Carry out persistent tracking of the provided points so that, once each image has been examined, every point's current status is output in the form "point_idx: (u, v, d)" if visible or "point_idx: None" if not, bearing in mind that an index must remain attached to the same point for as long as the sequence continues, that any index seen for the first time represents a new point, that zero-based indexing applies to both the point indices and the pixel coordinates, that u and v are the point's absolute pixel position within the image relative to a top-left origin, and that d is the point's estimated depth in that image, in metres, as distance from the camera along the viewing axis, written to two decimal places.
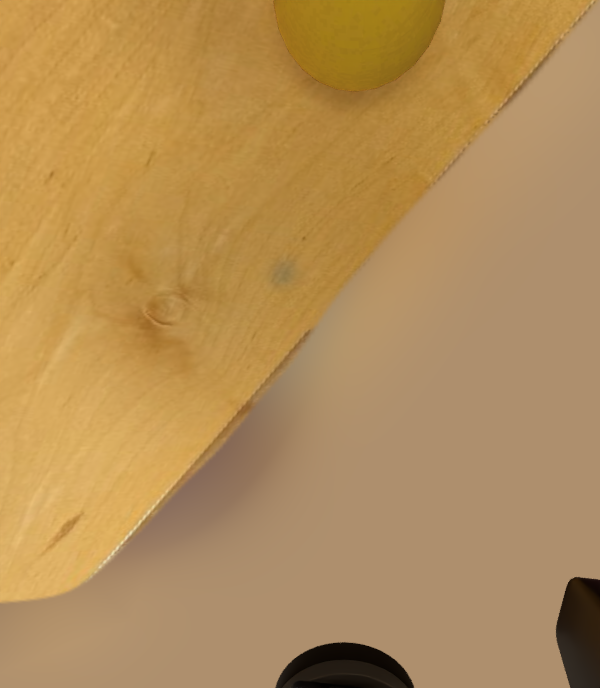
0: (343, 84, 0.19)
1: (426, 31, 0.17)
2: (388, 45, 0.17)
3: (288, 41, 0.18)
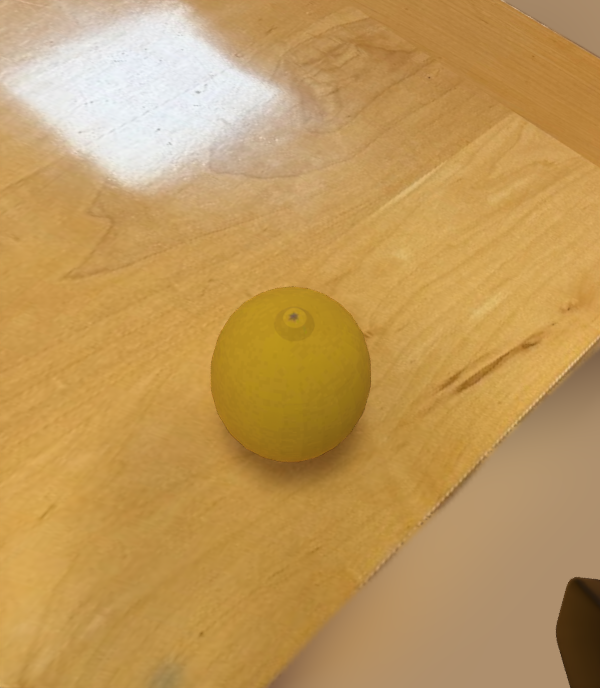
0: (266, 444, 0.18)
1: (349, 401, 0.18)
2: (311, 403, 0.17)
3: (217, 397, 0.19)
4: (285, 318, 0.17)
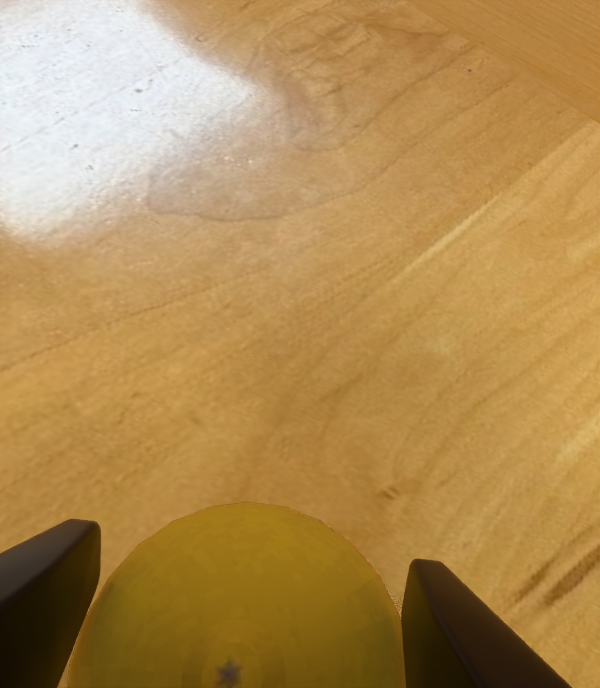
0: None
1: None
2: None
3: None
4: (207, 679, 0.06)
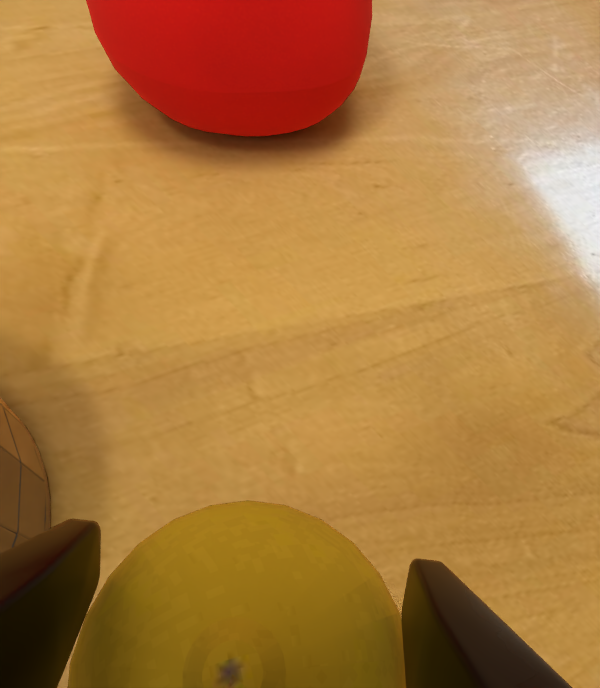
0: None
1: None
2: None
3: None
4: (207, 677, 0.06)
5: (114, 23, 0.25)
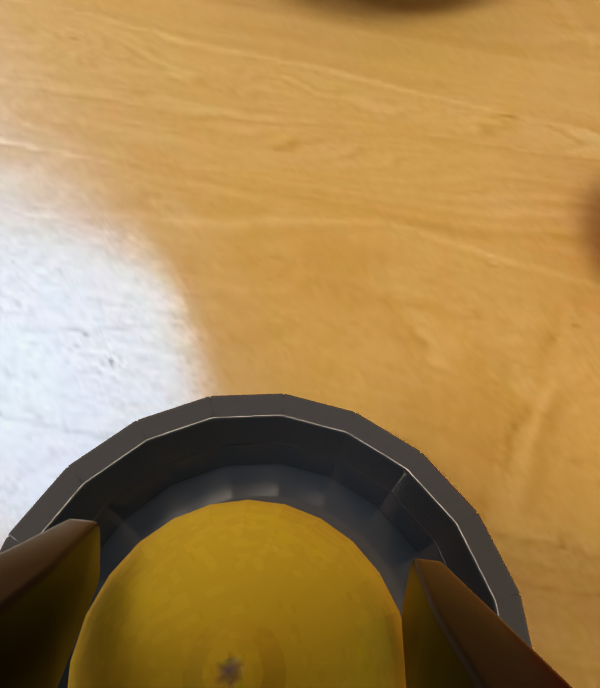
0: None
1: None
2: None
3: None
4: (208, 675, 0.06)
5: None
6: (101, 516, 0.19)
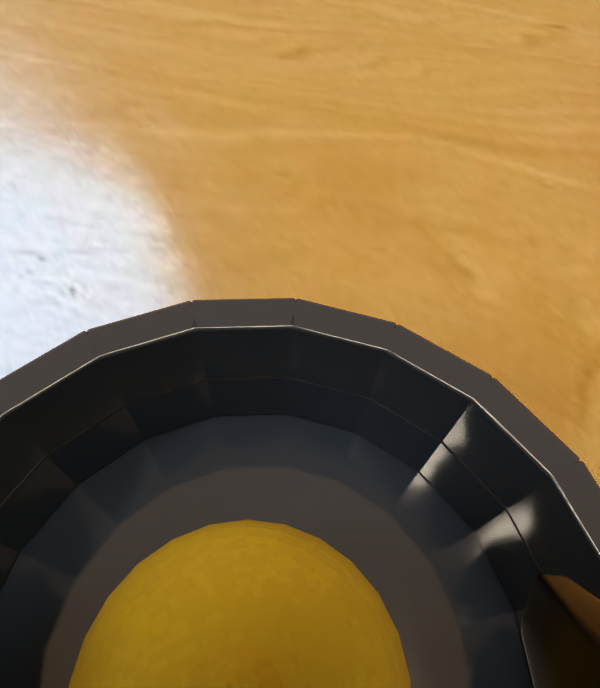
0: None
1: None
2: None
3: None
4: None
5: None
6: (41, 473, 0.13)
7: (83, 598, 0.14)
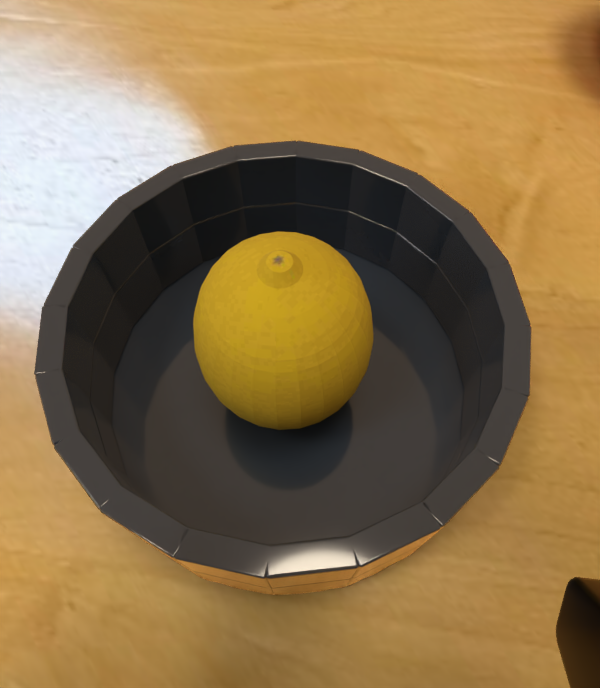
0: (260, 410, 0.16)
1: (349, 355, 0.16)
2: (306, 359, 0.15)
3: (201, 362, 0.17)
4: (269, 262, 0.14)
5: None
6: (146, 267, 0.22)
7: (176, 349, 0.22)
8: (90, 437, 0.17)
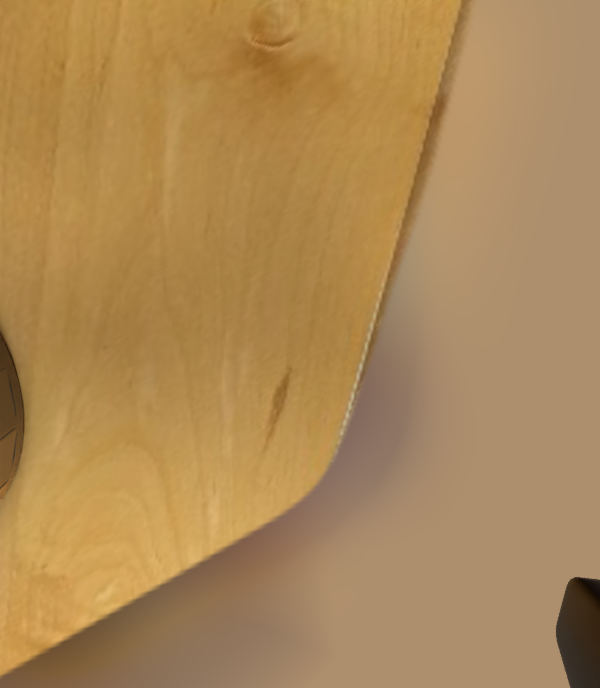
0: None
1: None
2: None
3: None
4: None
5: None
6: None
7: None
8: None
